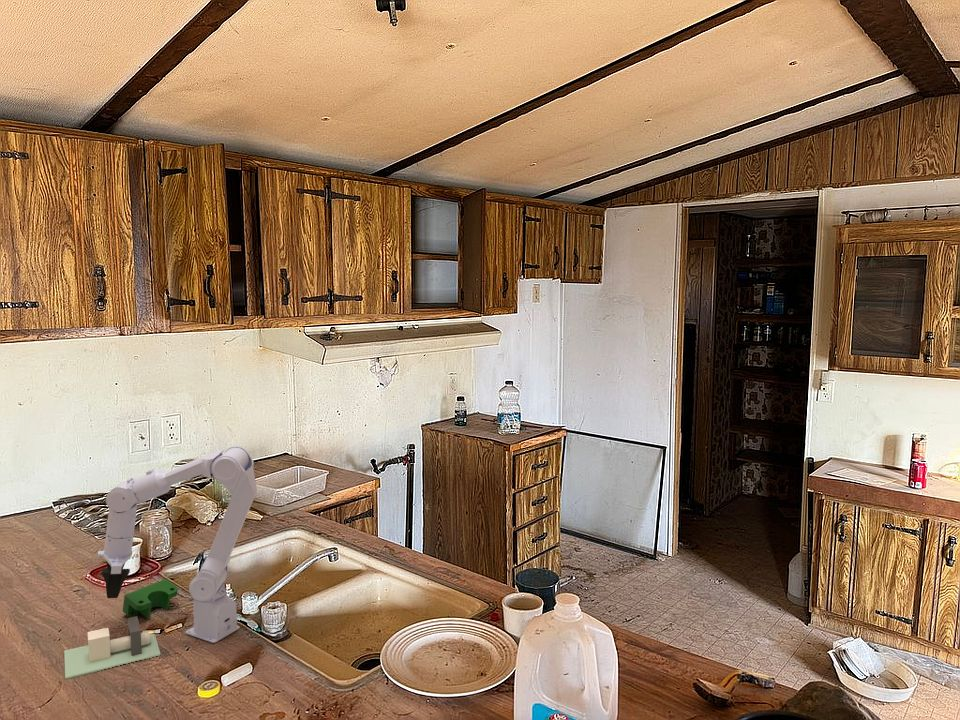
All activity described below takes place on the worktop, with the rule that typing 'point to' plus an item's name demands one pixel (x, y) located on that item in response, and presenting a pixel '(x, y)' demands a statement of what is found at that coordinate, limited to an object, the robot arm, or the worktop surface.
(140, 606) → the clamp
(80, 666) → the mat
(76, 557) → the worktop surface
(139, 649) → the loop
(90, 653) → the cream mallet
